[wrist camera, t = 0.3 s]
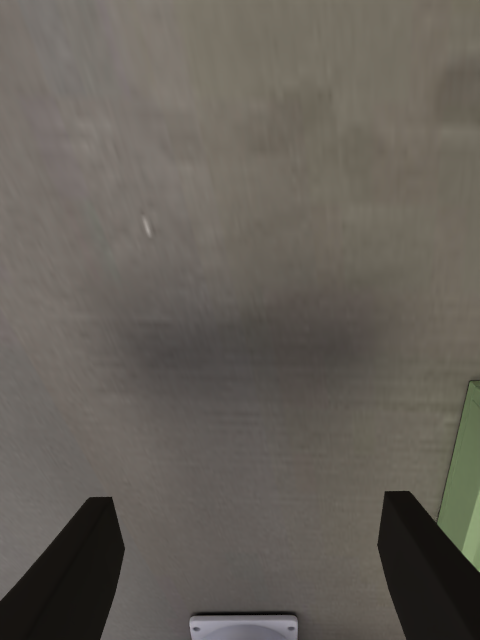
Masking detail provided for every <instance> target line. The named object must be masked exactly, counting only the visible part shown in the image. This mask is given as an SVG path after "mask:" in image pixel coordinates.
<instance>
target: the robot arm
mask: <svg viewBox="0 0 480 640" xmlns="http://www.w3.org/2000/svg"><path fill="white" fill-rule="evenodd" d="M377 546H378V550H379V554H380V558H381V562H382V566H383V570H384V574H385V578H386V581H387V585H388V589H389V592H390V595H391V598H392V601H393V603H394V606H395V609H396V612H397V615H398V617H399V620H400V623H401V626H402V629H403V631H404V634H405V637H406V640H480V572H479V571H478V570H477V569H476V568H475V567H474V566H473V565H472V563H471V562H470V561H469V560H468V559H467V558H466V557H465V556H464V555H463V554H462V552H461V551H460V550H459V549H458V548H457V547H456V546H455V544H454V543H453V542H452V541H451V540H450V539H449V537H448V536H447V535H446V534H445V533H444V532H443V530H442V529H441V528H440V527H439V526H438V525H437V523H436V522H435V521H434V520H433V519H432V517H431V516H430V515H429V514H428V513H427V511H426V510H425V509H424V508H423V507H422V505H421V504H420V503H419V502H418V500H417V499H416V498H415V497H414V496H413V494H412V493H410V492H409V491H385V495H384V502H383V509H382V516H381V523H380V530H379V537H378V544H377ZM124 551H125V547H124V543H123V539H122V535H121V531H120V527H119V523H118V519H117V515H116V511H115V507H114V503H113V499H112V497H89V498H88V499H87V500H86V502H85V503H84V504H83V505H82V506H81V508H80V509H79V510H78V511H77V512H76V514H75V515H74V516H73V517H72V519H71V520H70V521H69V522H68V523H67V525H66V526H65V527H64V528H63V530H62V531H61V532H60V533H59V534H58V536H57V537H56V538H55V539H54V540H53V542H52V543H51V544H50V545H49V546H48V548H47V549H46V550H45V551H44V552H43V553H42V555H41V556H40V557H39V558H38V559H37V560H36V562H35V563H34V564H33V565H32V566H31V567H30V569H29V570H28V571H27V572H26V573H25V574H24V576H23V577H22V578H21V579H20V580H19V581H18V582H17V583H16V585H15V586H14V587H13V588H12V589H11V590H10V591H9V592H8V593H7V594H6V596H5V597H4V598H3V599H2V600H1V601H0V640H100V638H101V635H102V632H103V629H104V626H105V623H106V620H107V617H108V614H109V611H110V608H111V605H112V602H113V598H114V595H115V592H116V588H117V583H118V579H119V575H120V570H121V565H122V561H123V556H124ZM189 625H190V631H191V637H192V640H298V620H297V617H296V616H294V615H212V616H193V617H191V618H190V624H189Z"/></svg>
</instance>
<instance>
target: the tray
mask: <svg viewBox="0 0 480 640" xmlns="http://www.w3.org/2000/svg"><path fill="white" fill-rule="evenodd" d="M437 525H438V526H439V527H440V528H441V529H442V530H443V532H444V533H445V534H446V535H447V536H448V537H449V539H450V540H451V541H452V542H453V543H454V544H455V546H456V547H457V548H458V549H459V550H460V551H461V552H462V554H463V555H464V556H465V557H466V558H467V559H468V560H469V561H470V562H471V563H472V565H473V566H474V567H475V568H476V569H477V570H478V571H479V572H480V381H470V383H469V388H468V392H467V396H466V401H465V405H464V409H463V414H462V418H461V422H460V427H459V431H458V435H457V439H456V444H455V448H454V452H453V457H452V461H451V465H450V470H449V474H448V478H447V483H446V487H445V491H444V496H443V500H442V504H441V509H440V513H439V517H438V522H437Z"/></svg>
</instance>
